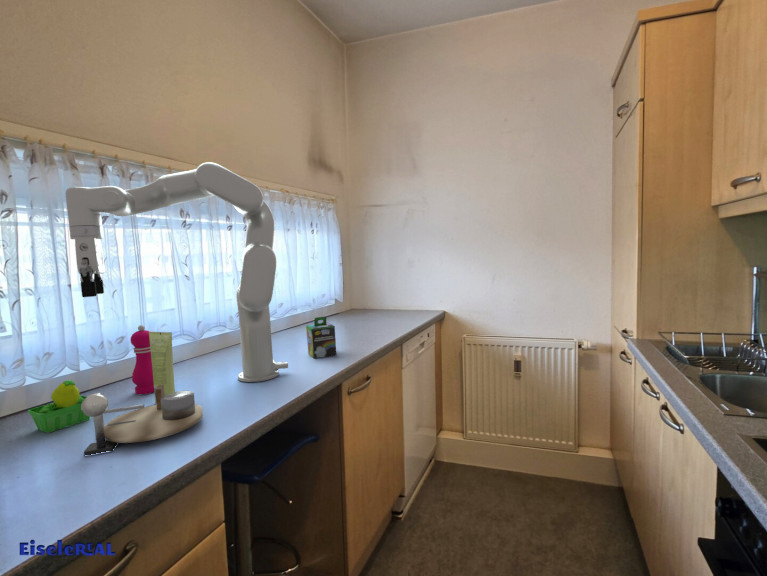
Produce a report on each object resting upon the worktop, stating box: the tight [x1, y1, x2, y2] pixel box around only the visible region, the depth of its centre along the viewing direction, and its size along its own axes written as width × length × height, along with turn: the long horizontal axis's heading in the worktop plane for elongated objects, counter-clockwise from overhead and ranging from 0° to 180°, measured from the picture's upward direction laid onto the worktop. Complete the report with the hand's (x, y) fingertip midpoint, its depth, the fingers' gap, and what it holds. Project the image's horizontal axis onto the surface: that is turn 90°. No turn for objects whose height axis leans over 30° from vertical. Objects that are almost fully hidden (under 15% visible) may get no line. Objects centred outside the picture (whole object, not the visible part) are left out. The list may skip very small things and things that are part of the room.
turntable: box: [104, 384, 204, 444], centre depth 97 cm, size 20×20×6 cm
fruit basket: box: [27, 379, 91, 434], centre depth 102 cm, size 11×9×11 cm
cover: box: [161, 390, 196, 420], centre depth 99 cm, size 7×7×5 cm
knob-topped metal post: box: [81, 392, 145, 457], centre depth 88 cm, size 11×4×12 cm, turn 109°
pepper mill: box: [130, 324, 154, 395], centre depth 125 cm, size 7×7×20 cm
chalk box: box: [305, 316, 337, 360], centre depth 161 cm, size 9×9×15 cm
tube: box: [149, 331, 176, 405], centre depth 115 cm, size 6×5×20 cm
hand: (93, 295), depth 118 cm, fingers open, 9 cm apart
